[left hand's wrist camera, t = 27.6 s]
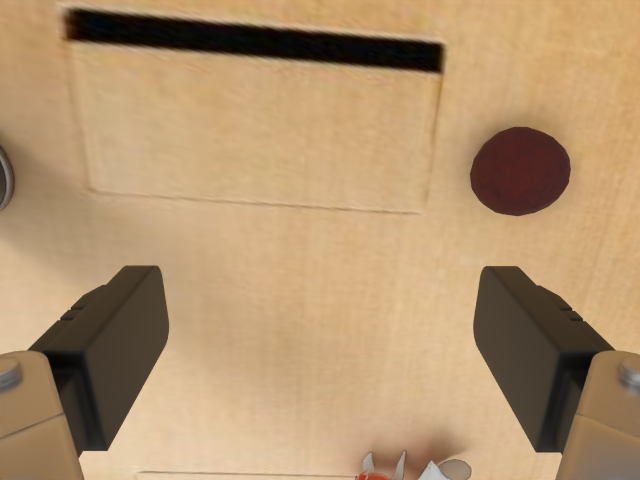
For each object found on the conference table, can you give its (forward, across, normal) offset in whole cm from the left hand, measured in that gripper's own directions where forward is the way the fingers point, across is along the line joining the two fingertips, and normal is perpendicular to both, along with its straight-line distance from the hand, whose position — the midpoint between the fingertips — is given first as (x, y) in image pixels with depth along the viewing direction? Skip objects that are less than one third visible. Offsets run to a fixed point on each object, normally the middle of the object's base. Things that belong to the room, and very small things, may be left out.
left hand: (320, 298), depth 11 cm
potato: (+31, -17, +3) cm, 35 cm away
